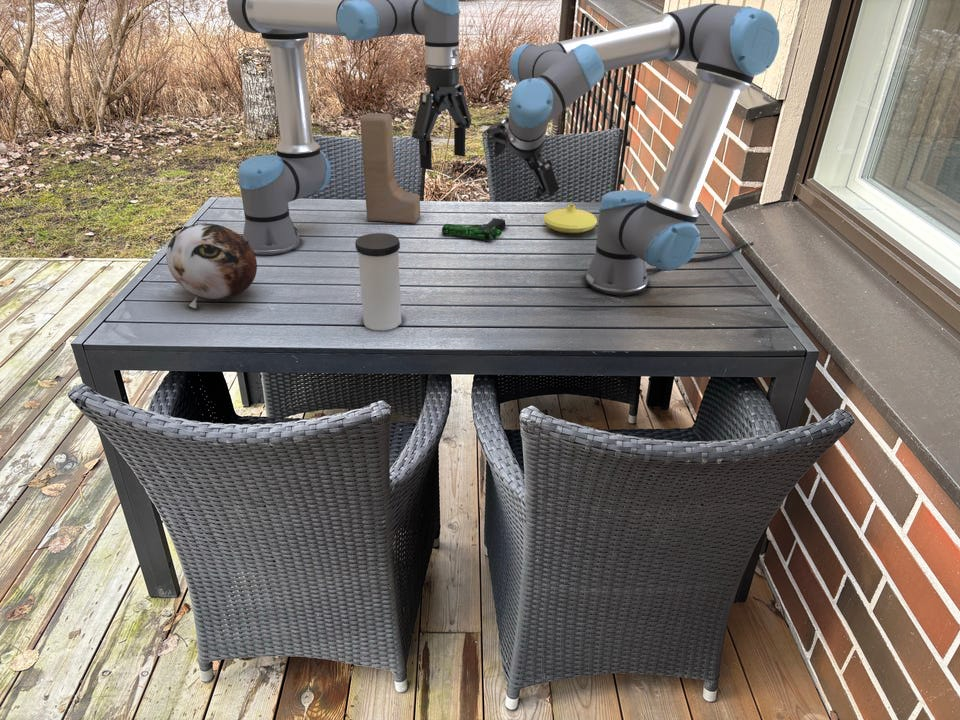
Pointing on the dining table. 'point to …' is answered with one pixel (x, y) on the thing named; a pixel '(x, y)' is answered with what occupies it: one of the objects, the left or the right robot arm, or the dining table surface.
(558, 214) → the yellow knobbed pot cover
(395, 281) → the jar
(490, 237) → the handgun
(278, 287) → the dining table surface
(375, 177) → the decorative block
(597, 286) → the right robot arm
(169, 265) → the cat face balloon
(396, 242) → the lid
